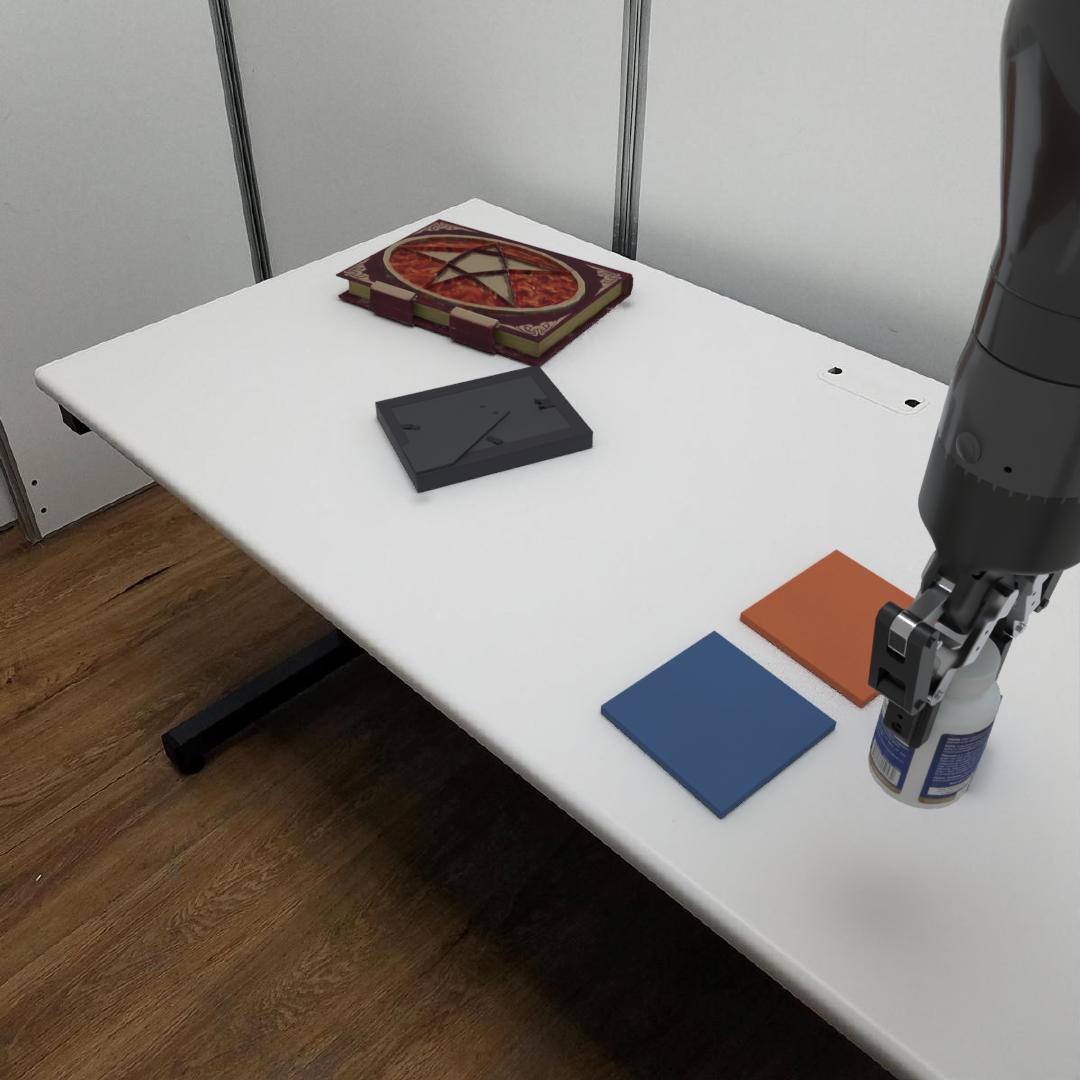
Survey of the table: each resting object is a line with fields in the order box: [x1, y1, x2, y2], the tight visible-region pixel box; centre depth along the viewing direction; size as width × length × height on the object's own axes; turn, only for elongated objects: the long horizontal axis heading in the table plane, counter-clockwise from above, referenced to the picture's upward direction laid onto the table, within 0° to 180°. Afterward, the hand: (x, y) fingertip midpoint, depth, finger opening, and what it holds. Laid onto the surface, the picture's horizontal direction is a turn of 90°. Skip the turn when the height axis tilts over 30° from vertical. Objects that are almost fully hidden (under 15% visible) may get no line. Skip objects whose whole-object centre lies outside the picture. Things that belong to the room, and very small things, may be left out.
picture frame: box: [374, 365, 594, 493], centre depth 104 cm, size 13×2×18 cm
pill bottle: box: [867, 623, 1001, 810], centre depth 56 cm, size 5×5×10 cm
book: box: [335, 218, 634, 366], centre depth 125 cm, size 28×21×5 cm
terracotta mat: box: [739, 549, 939, 709], centre depth 84 cm, size 12×12×1 cm
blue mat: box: [600, 630, 838, 820], centre depth 77 cm, size 12×12×1 cm
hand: (939, 705), depth 55 cm, fingers closed on pill bottle, 5 cm apart
